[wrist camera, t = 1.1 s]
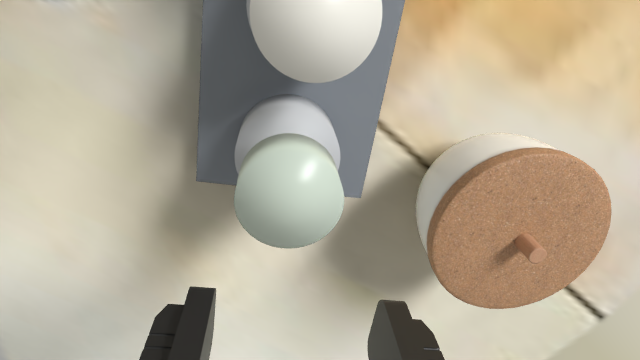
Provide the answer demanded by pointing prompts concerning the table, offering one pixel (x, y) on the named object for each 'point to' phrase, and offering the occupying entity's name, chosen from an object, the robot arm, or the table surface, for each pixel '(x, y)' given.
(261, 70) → the control board
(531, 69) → the table surface
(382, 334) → the robot arm
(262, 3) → the knob mid
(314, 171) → the knob
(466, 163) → the lidded jar
